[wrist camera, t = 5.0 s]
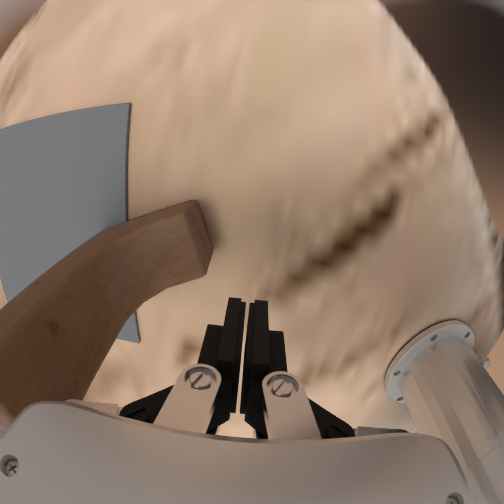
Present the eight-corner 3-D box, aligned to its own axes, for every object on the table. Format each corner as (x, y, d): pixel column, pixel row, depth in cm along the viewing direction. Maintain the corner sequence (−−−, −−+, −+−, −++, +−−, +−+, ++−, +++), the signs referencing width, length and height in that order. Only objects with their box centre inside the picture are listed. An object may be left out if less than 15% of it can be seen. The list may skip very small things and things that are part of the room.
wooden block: (197, 197, 20) (48, 384, 4) (215, 252, 22) (157, 487, 5) (100, 230, 21) (-59, 368, 4) (120, 277, 23) (3, 443, 6)
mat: (131, 103, 18) (129, 102, 18) (140, 340, 26) (139, 343, 25) (-12, 134, 18) (-15, 134, 18) (10, 304, 26) (8, 305, 26)
